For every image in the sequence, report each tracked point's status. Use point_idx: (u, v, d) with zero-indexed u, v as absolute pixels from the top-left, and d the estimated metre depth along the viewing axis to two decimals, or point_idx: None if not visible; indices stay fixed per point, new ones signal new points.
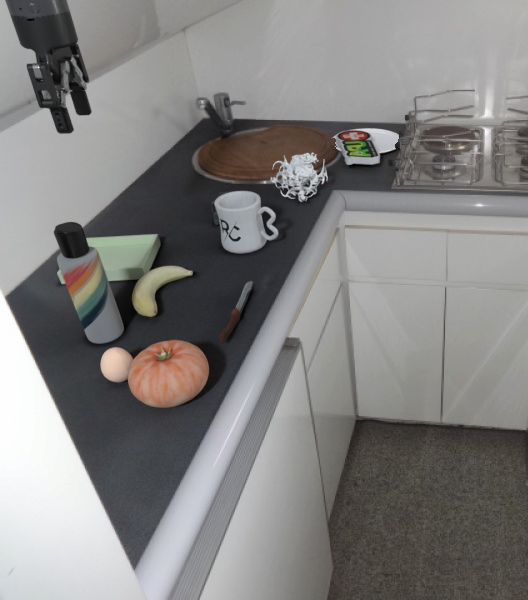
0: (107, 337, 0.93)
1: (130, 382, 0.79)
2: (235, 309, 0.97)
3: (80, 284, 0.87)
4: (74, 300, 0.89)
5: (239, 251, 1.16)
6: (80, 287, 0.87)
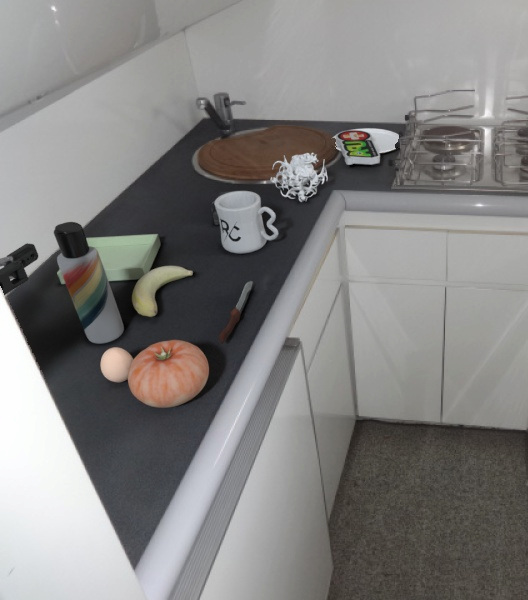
0: (107, 337, 0.93)
1: (130, 382, 0.79)
2: (235, 309, 0.97)
3: (80, 284, 0.87)
4: (74, 300, 0.89)
5: (239, 251, 1.16)
6: (80, 287, 0.87)
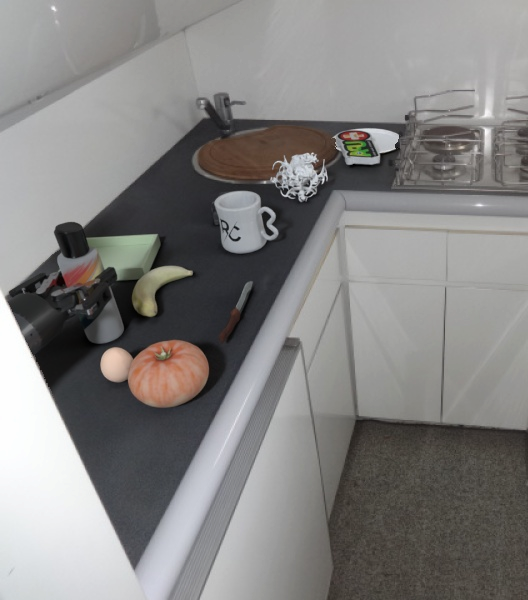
0: (107, 337, 0.93)
1: (130, 382, 0.79)
2: (235, 309, 0.97)
3: None
4: None
5: (239, 251, 1.16)
6: None
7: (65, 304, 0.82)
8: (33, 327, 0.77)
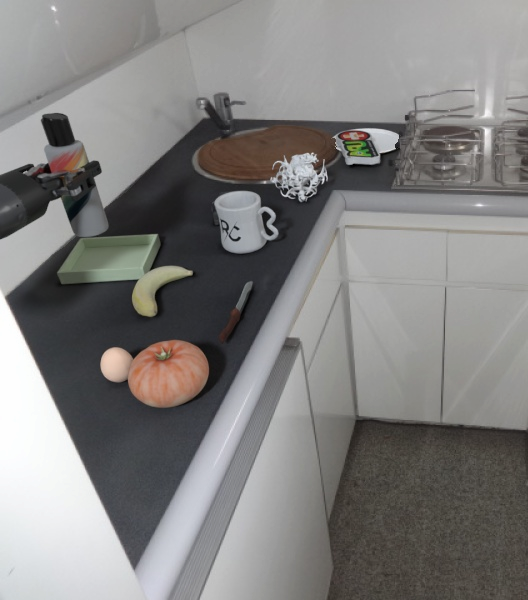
0: (92, 231, 0.98)
1: (130, 382, 0.79)
2: (235, 309, 0.97)
3: None
4: None
5: (239, 251, 1.16)
6: None
7: (50, 185, 0.87)
8: (19, 200, 0.82)
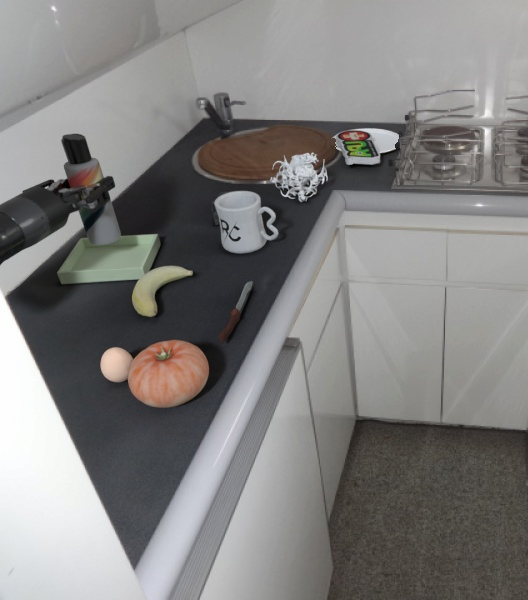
0: (106, 239, 1.08)
1: (130, 382, 0.79)
2: (235, 309, 0.97)
3: None
4: None
5: (239, 251, 1.16)
6: None
7: (70, 199, 0.97)
8: (43, 212, 0.92)
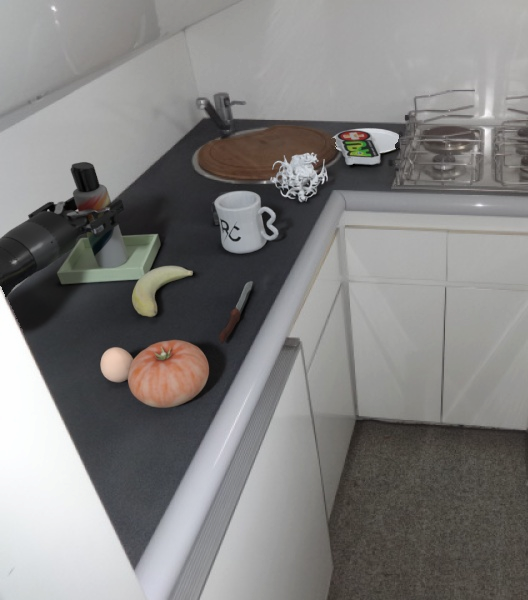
0: (114, 263, 1.11)
1: (130, 382, 0.79)
2: (235, 309, 0.97)
3: None
4: None
5: (239, 251, 1.16)
6: (92, 217, 1.05)
7: (78, 222, 0.99)
8: (53, 237, 0.95)
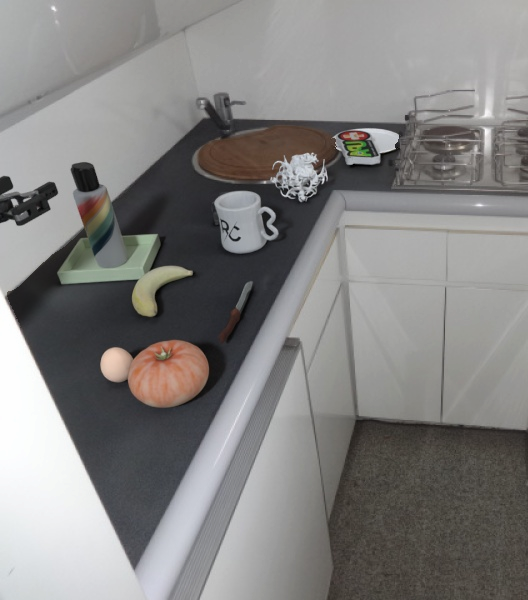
0: (114, 263, 1.11)
1: (130, 382, 0.79)
2: (235, 309, 0.97)
3: (92, 214, 1.05)
4: (87, 229, 1.07)
5: (239, 251, 1.16)
6: (92, 217, 1.05)
7: None
8: None
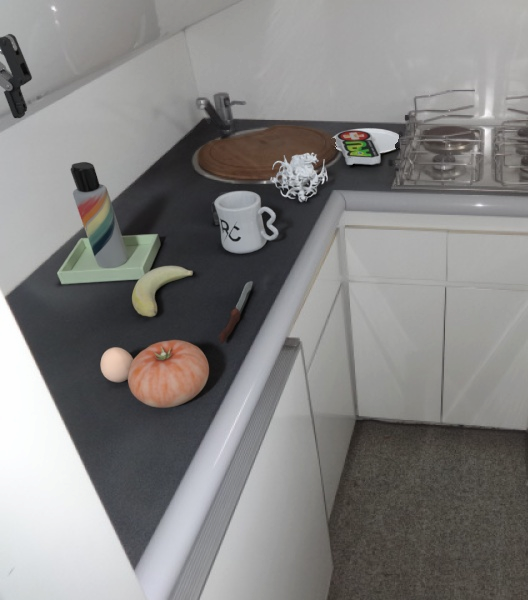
0: (114, 263, 1.11)
1: (130, 382, 0.79)
2: (235, 309, 0.97)
3: (92, 214, 1.05)
4: (87, 229, 1.07)
5: (239, 251, 1.16)
6: (92, 217, 1.05)
7: None
8: None
